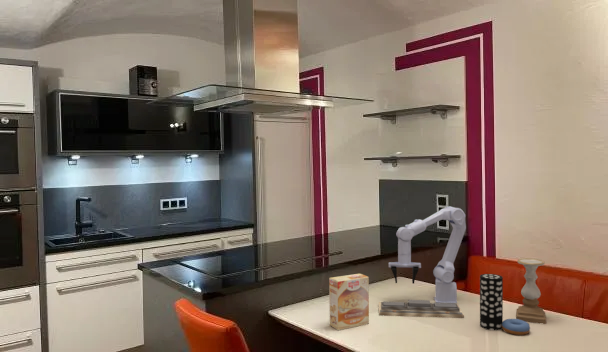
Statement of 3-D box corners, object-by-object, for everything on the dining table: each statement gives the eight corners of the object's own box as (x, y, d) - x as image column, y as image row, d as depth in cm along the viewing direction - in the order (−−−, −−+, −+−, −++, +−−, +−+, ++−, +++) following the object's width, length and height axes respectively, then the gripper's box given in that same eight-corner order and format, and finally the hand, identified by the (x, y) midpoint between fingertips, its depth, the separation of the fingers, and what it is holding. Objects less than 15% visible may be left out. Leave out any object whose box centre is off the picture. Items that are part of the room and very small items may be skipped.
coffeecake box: (338, 330, 187) (337, 281, 187) (329, 325, 194) (328, 277, 193) (369, 324, 194) (369, 276, 193) (359, 319, 201) (359, 272, 200)
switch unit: (457, 306, 214) (457, 301, 214) (464, 318, 200) (464, 311, 200) (378, 304, 219) (378, 299, 219) (379, 315, 205) (379, 309, 205)
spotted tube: (501, 324, 192) (501, 274, 191) (503, 331, 184) (503, 279, 183) (479, 322, 194) (479, 273, 194) (480, 329, 187) (480, 278, 186)
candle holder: (545, 315, 201) (545, 259, 200) (546, 324, 191) (546, 264, 190) (516, 312, 206) (516, 257, 205) (515, 320, 196) (516, 262, 195)
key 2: (455, 306, 210) (455, 303, 210) (457, 310, 205) (457, 307, 205) (433, 306, 211) (433, 302, 211) (435, 309, 206) (435, 306, 206)
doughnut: (528, 337, 177) (528, 324, 177) (499, 334, 182) (499, 321, 183) (531, 331, 185) (531, 319, 186) (504, 328, 191) (503, 316, 191)
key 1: (403, 305, 213) (403, 302, 213) (404, 308, 208) (404, 305, 208) (383, 304, 214) (383, 301, 214) (383, 308, 209) (383, 304, 209)
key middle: (429, 303, 211) (429, 300, 211) (430, 307, 206) (430, 303, 206) (408, 303, 213) (408, 299, 212) (409, 306, 208) (409, 303, 208)
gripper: (388, 255, 217) (389, 284, 218) (421, 255, 215) (421, 285, 216) (388, 252, 224) (388, 280, 225) (420, 252, 222) (420, 281, 223)
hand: (404, 282), depth 221 cm, fingers open, 7 cm apart
